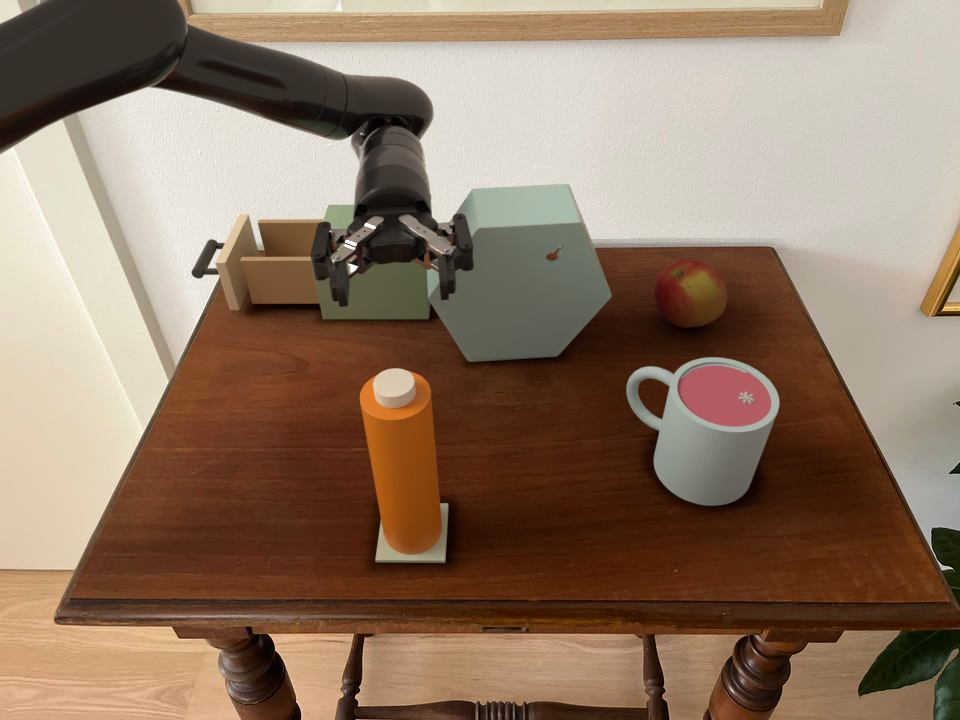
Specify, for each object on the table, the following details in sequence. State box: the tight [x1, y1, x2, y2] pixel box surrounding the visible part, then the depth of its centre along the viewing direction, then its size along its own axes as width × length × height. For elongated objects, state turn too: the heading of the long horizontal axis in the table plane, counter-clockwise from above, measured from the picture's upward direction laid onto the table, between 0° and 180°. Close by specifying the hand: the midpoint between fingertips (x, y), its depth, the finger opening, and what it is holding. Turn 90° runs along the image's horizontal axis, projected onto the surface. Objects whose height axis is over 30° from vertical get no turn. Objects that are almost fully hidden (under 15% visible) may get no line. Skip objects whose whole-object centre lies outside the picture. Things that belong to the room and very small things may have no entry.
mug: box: [625, 356, 780, 507], centre depth 68 cm, size 14×9×10 cm
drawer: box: [190, 213, 324, 311], centre depth 89 cm, size 16×11×7 cm
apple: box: [653, 259, 728, 329], centre depth 83 cm, size 8×8×8 cm
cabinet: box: [311, 204, 432, 320], centre depth 88 cm, size 13×12×9 cm
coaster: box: [375, 502, 449, 564], centre depth 64 cm, size 6×6×1 cm
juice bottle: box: [359, 367, 442, 554], centre depth 58 cm, size 5×5×18 cm
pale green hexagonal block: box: [427, 183, 613, 363], centre depth 78 cm, size 17×8×21 cm
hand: (393, 295), depth 60 cm, fingers open, 8 cm apart
